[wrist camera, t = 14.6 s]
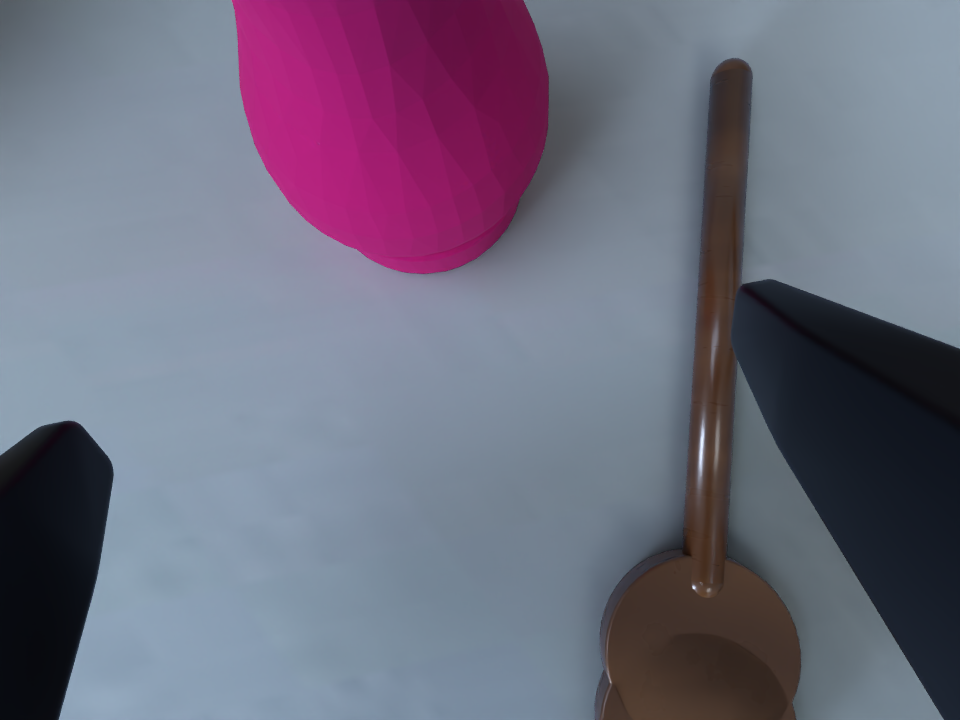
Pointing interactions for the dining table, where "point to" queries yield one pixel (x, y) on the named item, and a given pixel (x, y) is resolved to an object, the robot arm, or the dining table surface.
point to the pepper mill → (397, 119)
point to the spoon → (705, 506)
